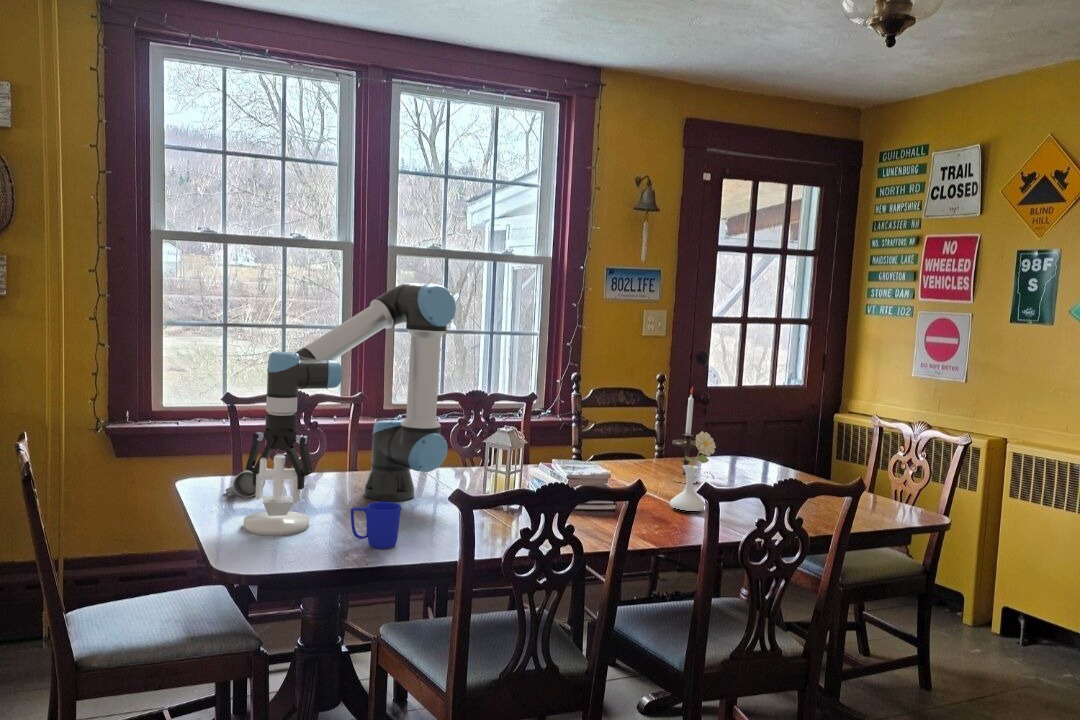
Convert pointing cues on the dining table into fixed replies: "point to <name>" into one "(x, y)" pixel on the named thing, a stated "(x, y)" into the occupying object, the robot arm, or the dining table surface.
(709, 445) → the flower in vase
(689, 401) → the candlestick
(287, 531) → the disc
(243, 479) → the ceramic mug
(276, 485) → the figurine
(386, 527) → the mug
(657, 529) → the dining table surface
